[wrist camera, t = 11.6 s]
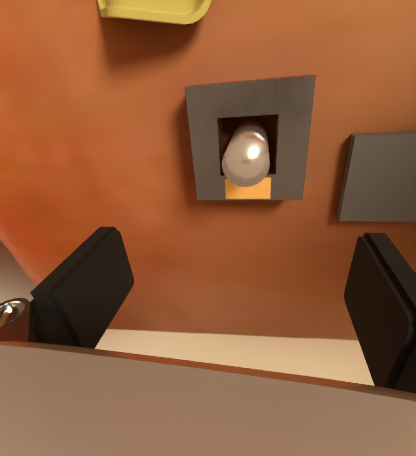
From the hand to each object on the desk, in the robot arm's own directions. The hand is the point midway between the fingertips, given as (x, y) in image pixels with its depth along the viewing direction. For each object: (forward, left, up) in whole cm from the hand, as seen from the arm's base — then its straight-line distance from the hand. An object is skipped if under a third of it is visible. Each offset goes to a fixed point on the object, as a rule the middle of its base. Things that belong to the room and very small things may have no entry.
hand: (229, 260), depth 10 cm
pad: (-16, +5, -23) cm, 29 cm away
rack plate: (0, 0, -23) cm, 23 cm away
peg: (0, 0, -23) cm, 23 cm away
